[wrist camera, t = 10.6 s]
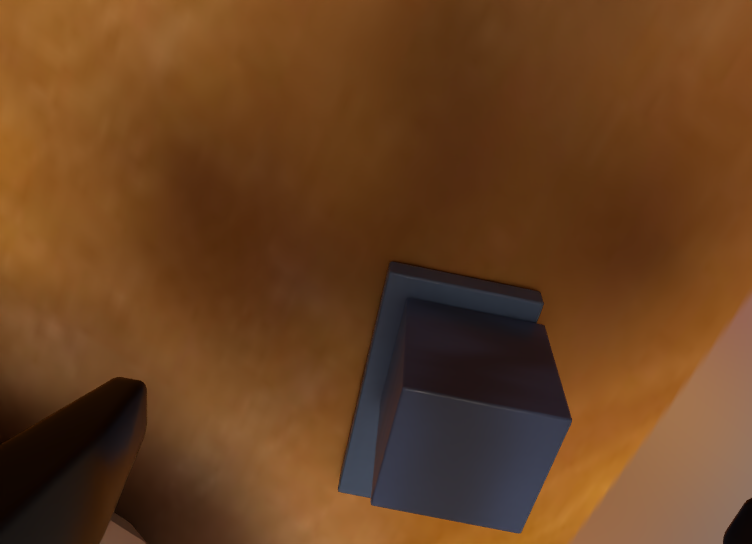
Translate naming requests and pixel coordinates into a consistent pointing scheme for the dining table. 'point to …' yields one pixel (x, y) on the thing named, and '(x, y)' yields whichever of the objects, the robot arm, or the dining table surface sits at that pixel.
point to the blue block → (468, 417)
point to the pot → (121, 532)
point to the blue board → (396, 290)
